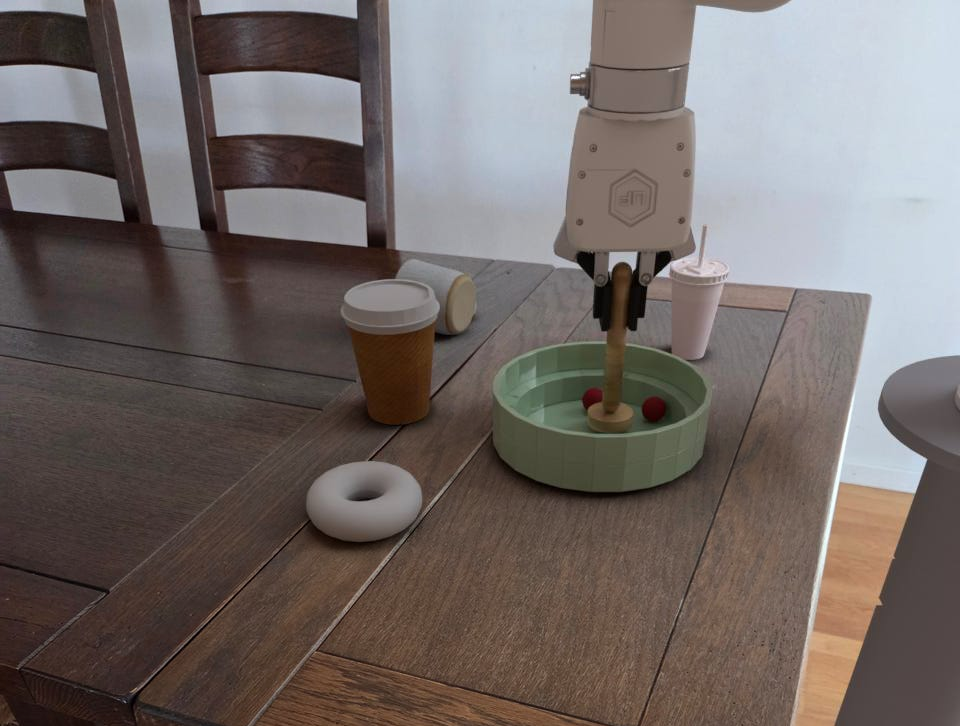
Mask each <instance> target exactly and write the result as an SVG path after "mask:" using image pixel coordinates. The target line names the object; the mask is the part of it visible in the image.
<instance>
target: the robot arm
mask: <svg viewBox="0 0 960 726" xmlns="http://www.w3.org/2000/svg"><path fill="white" fill-rule="evenodd" d="M791 1H792V0H592V14H591V32H590V33H591V34H590V52H589V61H588V67H585V69H584V71H580V72H579V73H570V74H569V75H570V77H569V95H578V96H579V97H583V98H584V100H585V101H587V106H585V107H582V108H580V109H579V112H578V116H577V119H576V124H575V128H574V134H573V141H572V147H571V151H570V159H569V166H568V167H569V168H568V176H567V186H566V187H567V188H566V199H565V216H564V219H563V221H562V223H561V224H560V225H561V226H560V228H559V230H558V233H557V235H556V237H555V240H554V242H553V245H552V246H553V253H554V255H555V256H556V257H558V258H561V259H564V260H566V261H569V262H571V263H574V264H577V265H578V266H579V267H580V269H582V270H583V271H584V272H585V273H586V274H587V275H588V277H589V278H590V279H591V280H592V281H593V282H594V284H593V299H592V319H594V320H595V319H596V320H597V319H598V322H599V327H600V331H601V332H602V333H603V332H606V333H607V331H608V330H610V320H611V307H612V295H613V287H612V284H611V274H610V271H609V266H610V253H634V252H635V253H636V258H635V268H634V269H632V282H631V290H630V302H629V313H628V324H627V331H630V332H637V329H638V321H639V319H644V318H645V316H646V306H647V296H648V287H649V286H650V285H651V284H652V283H653V280H654V278H655V277H657V275H658V274H660V272H662V271H663V270H664V269H665V268H666V267H668V265H669V264H670V263H673V262H674V261H676V260H679V259H683V258H687V257H688V256H690V255H693V254H694V253H695V251H696V249H697V247H696V242H695V238H694V233H693V230H692V226H691V224H692V217H693V216H692V215H693V202H694V188H695V174H696V173H695V172H696V152H697V151H696V149H697V148H696V146H697V145H696V144H697V143H696V142H697V141H696V140H697V139H696V135H697V134H696V132H697V131H696V116H695V112H694V111H693V110H692V109H691V108H689V107H687V106H685V105H686V98H687V97H686V96H687V89H688V80H689V72H690V71H689V70H690V62H691V56H692V46H693V38H694V29H695V21H696V20H695V19H696V11H697V6H700V7H710V8H717V9H723V10H729V11H736V12H742V13H765V12H769V11H773V10H776V9H778V8H780V7H783V6H785V5H787V4H789V3H790V2H791ZM954 401H955V404H956V406H957V408H958V409H959V410H960V385H959V386H958V389H957V391H956V394H955V398H954Z"/></svg>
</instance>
